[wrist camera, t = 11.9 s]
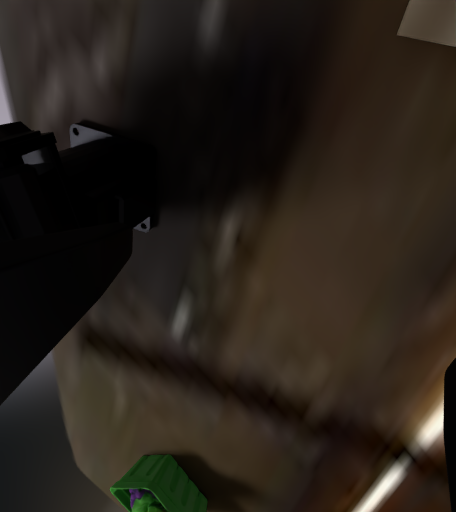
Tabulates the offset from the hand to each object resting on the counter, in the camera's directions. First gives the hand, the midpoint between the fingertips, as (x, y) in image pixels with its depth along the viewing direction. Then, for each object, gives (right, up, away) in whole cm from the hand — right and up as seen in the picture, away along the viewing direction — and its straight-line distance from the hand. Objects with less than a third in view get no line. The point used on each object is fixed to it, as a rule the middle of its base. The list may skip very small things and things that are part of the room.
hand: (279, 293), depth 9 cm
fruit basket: (-8, -27, +35) cm, 45 cm away
